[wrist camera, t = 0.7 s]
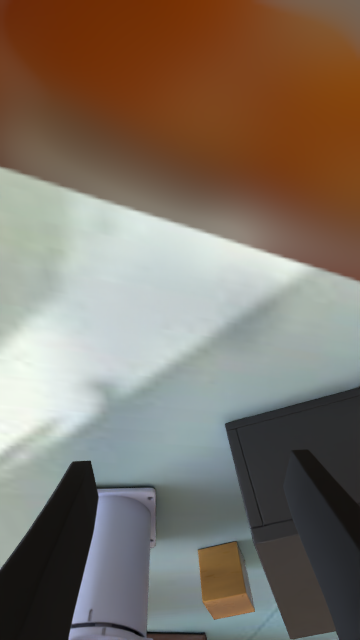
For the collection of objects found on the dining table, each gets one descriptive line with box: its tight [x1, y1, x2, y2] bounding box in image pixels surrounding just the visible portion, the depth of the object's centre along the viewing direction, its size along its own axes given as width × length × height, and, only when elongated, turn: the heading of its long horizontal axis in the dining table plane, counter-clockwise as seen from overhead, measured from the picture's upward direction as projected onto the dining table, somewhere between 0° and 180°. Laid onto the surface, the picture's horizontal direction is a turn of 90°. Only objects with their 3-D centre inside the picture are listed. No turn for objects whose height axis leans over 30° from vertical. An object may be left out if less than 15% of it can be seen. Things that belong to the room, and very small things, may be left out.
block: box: [198, 542, 255, 620], centre depth 30 cm, size 4×4×4 cm
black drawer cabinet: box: [225, 388, 360, 639], centre depth 22 cm, size 15×13×9 cm
